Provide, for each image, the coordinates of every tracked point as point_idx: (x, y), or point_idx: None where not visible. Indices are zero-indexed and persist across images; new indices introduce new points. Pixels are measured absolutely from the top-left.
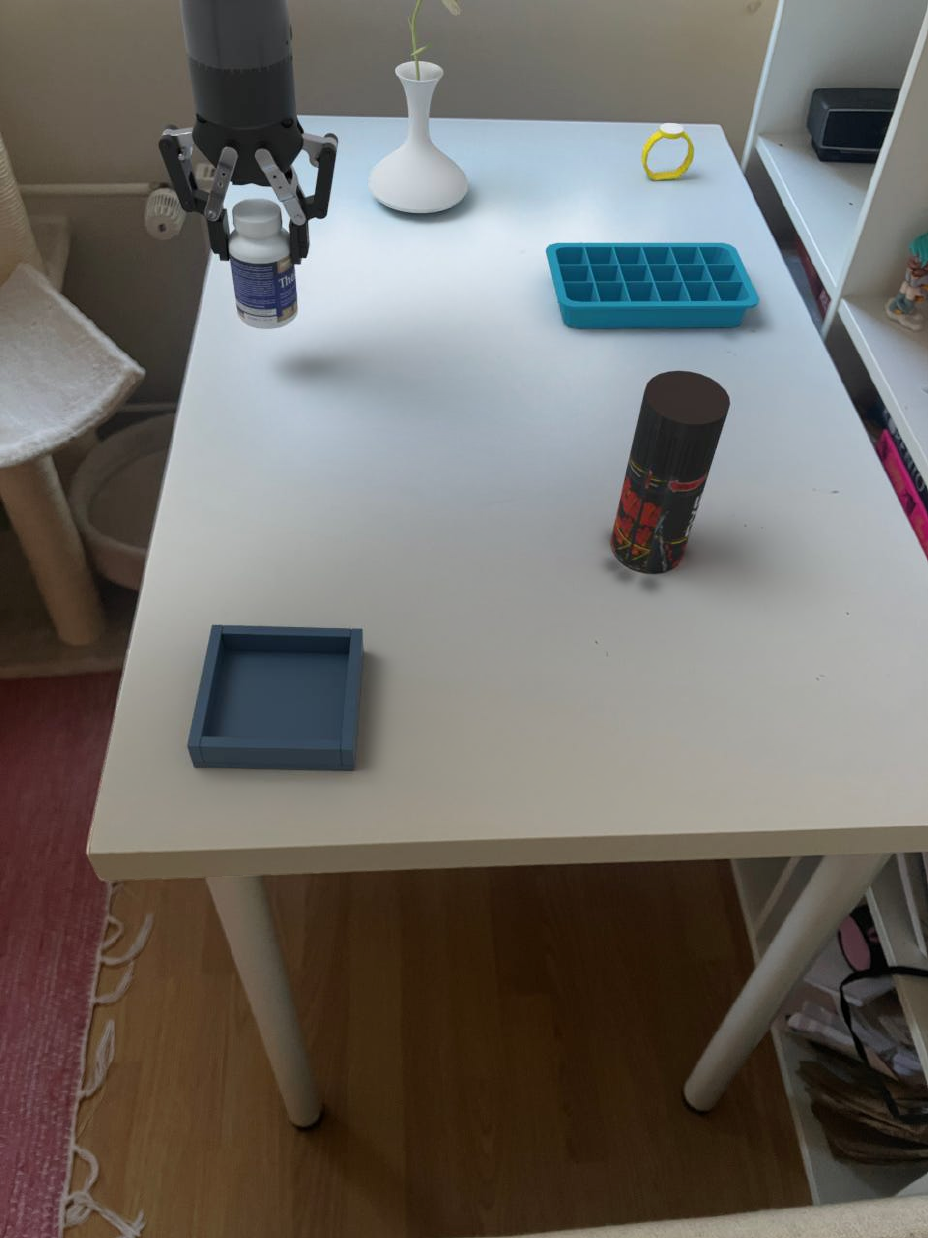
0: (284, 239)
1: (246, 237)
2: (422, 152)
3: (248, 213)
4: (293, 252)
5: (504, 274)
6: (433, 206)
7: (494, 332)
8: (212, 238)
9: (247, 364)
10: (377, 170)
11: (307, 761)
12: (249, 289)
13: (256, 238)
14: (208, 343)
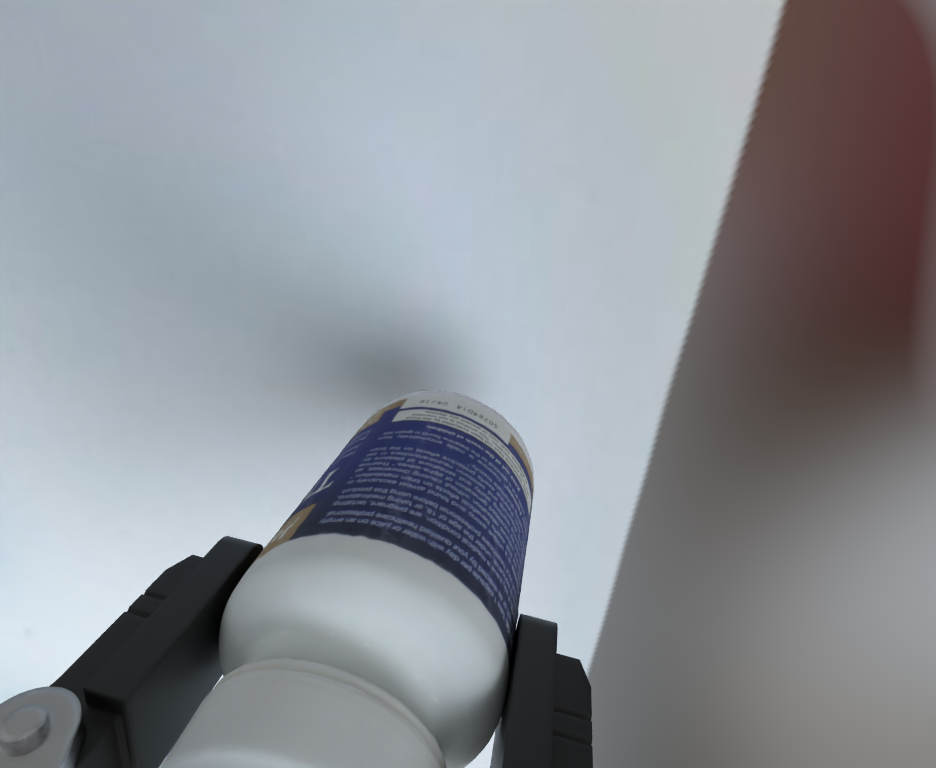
0: (229, 647)
1: (386, 684)
2: None
3: None
4: (214, 576)
5: (46, 584)
6: (161, 764)
7: (34, 428)
8: (576, 731)
9: (539, 412)
10: None
11: None
12: (459, 477)
13: (331, 663)
14: (624, 500)
